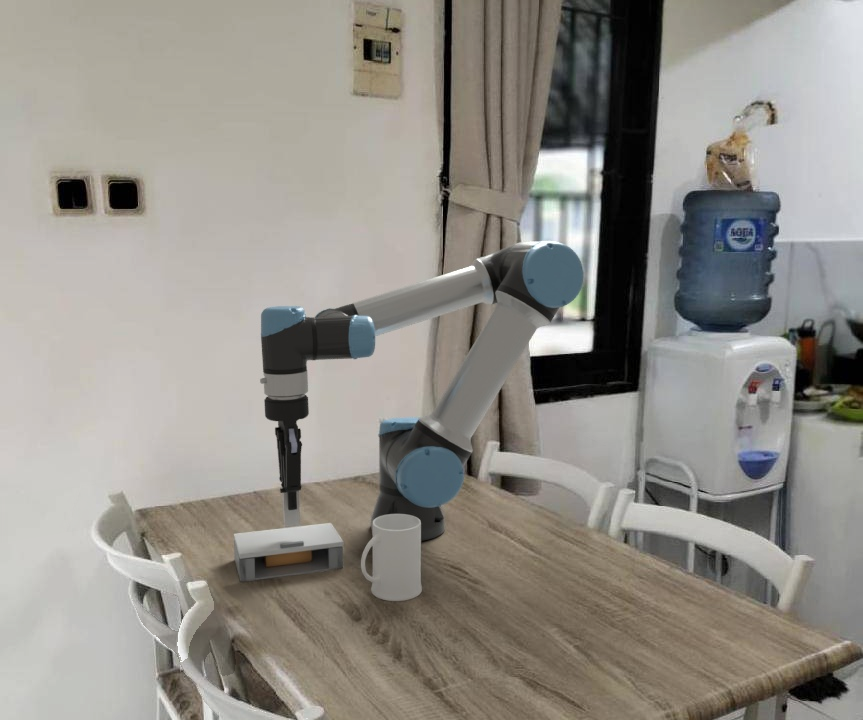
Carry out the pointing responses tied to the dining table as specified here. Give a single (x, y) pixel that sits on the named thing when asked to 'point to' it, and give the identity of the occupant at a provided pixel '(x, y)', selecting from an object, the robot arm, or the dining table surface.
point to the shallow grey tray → (258, 570)
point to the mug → (395, 557)
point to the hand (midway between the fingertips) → (292, 524)
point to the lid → (287, 540)
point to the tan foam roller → (288, 558)
